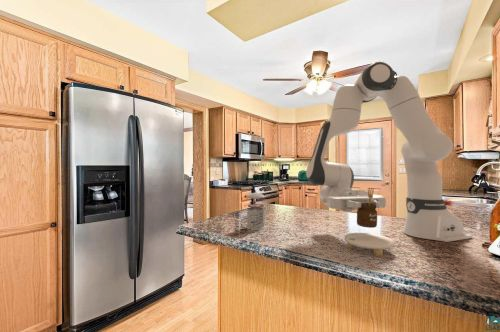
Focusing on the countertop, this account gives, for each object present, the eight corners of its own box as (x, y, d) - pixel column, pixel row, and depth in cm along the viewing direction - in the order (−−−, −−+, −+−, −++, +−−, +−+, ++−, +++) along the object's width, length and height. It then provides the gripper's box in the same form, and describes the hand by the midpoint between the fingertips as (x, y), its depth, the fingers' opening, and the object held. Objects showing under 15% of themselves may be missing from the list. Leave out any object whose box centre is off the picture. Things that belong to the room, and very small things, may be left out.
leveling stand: (373, 241, 86) (373, 231, 86) (404, 256, 72) (404, 243, 72) (336, 243, 84) (336, 233, 84) (360, 259, 70) (360, 246, 70)
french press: (241, 226, 109) (241, 170, 109) (263, 223, 114) (263, 170, 114) (250, 231, 101) (250, 170, 101) (274, 228, 105) (274, 170, 105)
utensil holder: (353, 225, 78) (354, 188, 78) (361, 222, 83) (362, 187, 82) (373, 229, 74) (374, 189, 74) (380, 225, 78) (381, 188, 78)
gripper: (319, 191, 90) (338, 195, 76) (370, 190, 92) (397, 195, 79) (319, 208, 90) (338, 216, 76) (370, 207, 92) (397, 214, 79)
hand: (368, 205), depth 77 cm, fingers closed on utensil holder, 5 cm apart
